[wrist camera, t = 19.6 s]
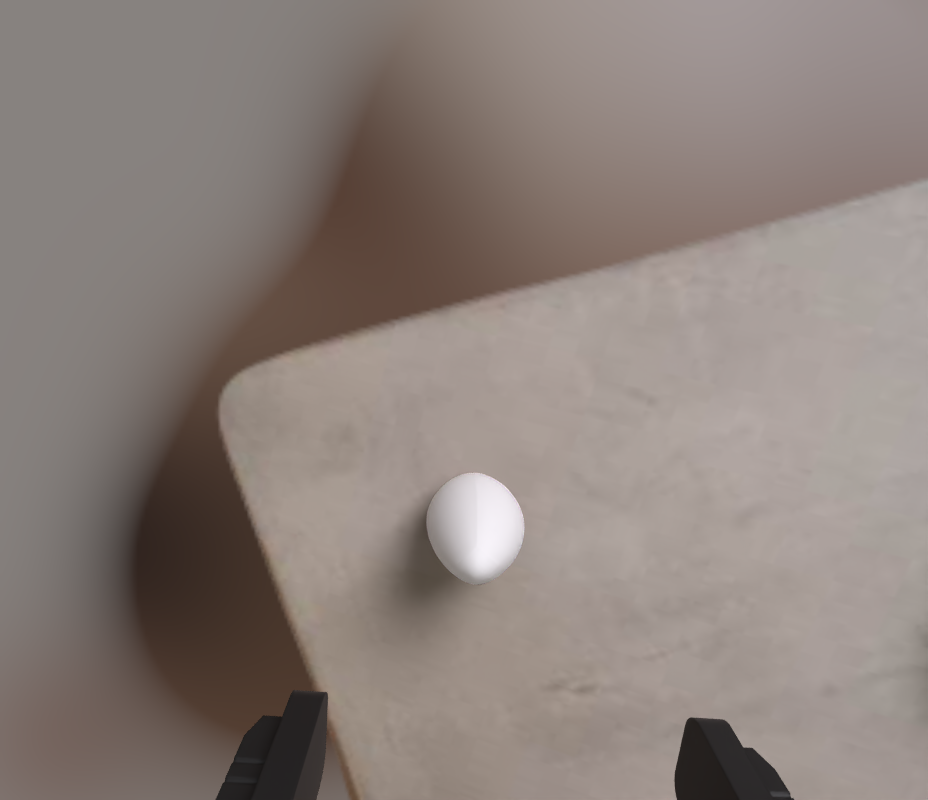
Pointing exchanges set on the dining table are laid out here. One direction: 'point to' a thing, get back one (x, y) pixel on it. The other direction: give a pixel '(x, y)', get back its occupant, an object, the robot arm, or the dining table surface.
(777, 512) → the dining table surface
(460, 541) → the egg
